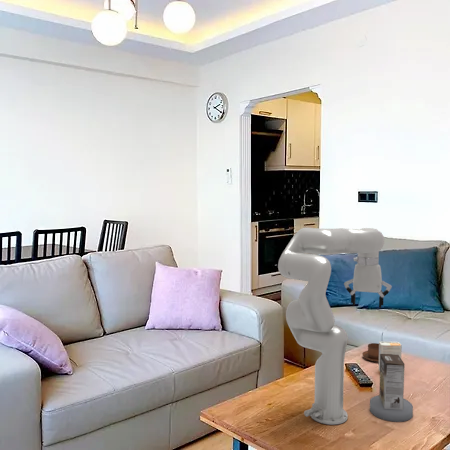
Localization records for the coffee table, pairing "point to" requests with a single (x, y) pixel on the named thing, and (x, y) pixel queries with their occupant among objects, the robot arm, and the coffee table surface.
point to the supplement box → (389, 349)
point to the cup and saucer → (372, 352)
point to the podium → (391, 411)
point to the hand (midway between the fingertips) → (366, 305)
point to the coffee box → (391, 381)
